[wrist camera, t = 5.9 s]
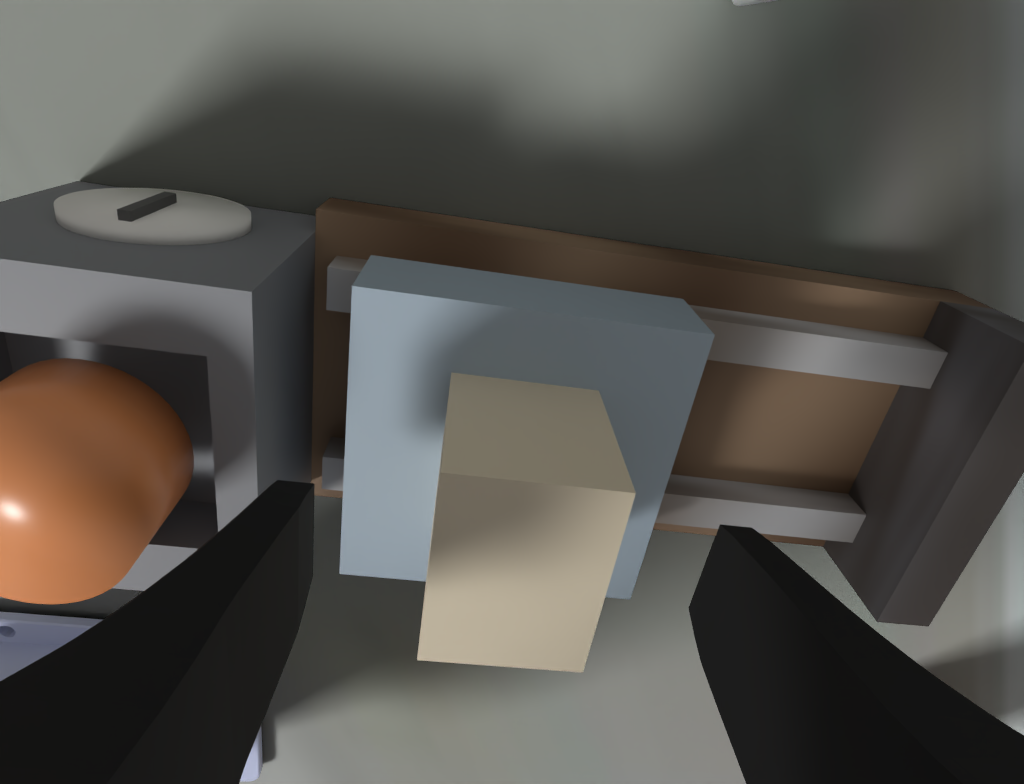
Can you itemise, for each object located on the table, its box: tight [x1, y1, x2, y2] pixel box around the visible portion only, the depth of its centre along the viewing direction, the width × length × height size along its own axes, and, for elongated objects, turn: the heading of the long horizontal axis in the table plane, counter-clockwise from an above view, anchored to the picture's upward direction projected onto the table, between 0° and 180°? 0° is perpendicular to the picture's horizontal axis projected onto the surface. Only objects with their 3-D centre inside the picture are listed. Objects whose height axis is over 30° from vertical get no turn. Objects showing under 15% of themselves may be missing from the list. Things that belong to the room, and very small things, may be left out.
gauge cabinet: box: [0, 181, 316, 591], centre depth 14 cm, size 6×8×6 cm
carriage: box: [339, 255, 715, 673], centre depth 13 cm, size 7×7×6 cm
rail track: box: [311, 198, 1024, 626], centre depth 16 cm, size 17×8×4 cm, turn 81°
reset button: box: [0, 358, 194, 604], centre depth 11 cm, size 4×4×2 cm
